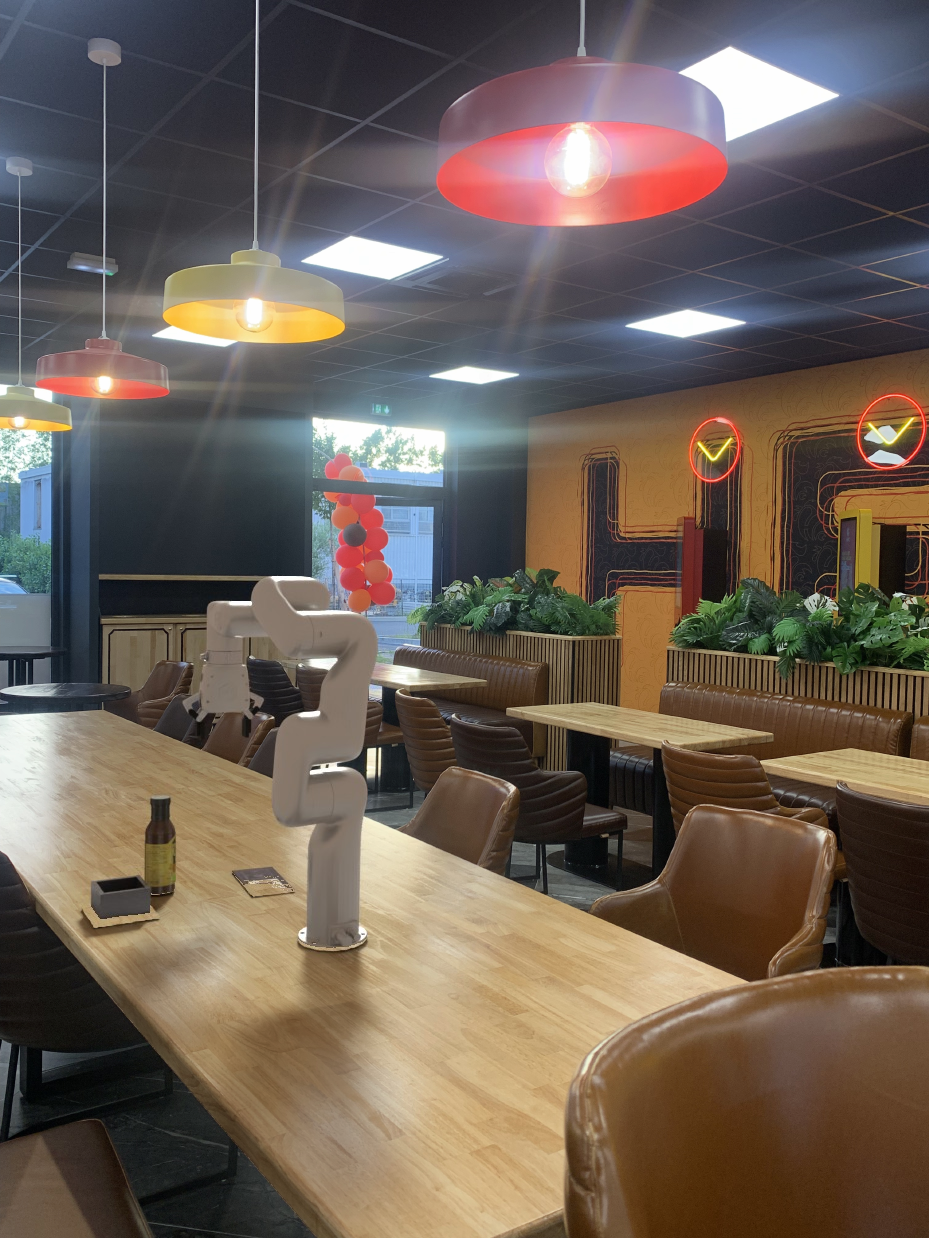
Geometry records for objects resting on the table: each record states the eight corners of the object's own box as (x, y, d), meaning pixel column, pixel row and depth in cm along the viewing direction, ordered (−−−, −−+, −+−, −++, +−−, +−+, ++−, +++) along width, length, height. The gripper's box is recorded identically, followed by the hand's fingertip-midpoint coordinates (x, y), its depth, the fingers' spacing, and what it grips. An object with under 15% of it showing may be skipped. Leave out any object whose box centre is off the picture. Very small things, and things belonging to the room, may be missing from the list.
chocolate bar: (272, 866, 225) (294, 890, 209) (271, 870, 225) (294, 894, 209) (232, 870, 221) (252, 894, 205) (231, 874, 221) (252, 899, 205)
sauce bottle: (179, 894, 206) (180, 798, 205) (149, 898, 202) (150, 801, 202) (170, 885, 211) (171, 792, 210) (140, 890, 208) (141, 795, 207)
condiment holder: (159, 918, 191) (159, 889, 191) (93, 928, 185) (93, 898, 185) (144, 900, 201) (145, 872, 201) (81, 909, 195) (82, 880, 195)
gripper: (187, 661, 207) (186, 743, 207) (269, 659, 215) (267, 738, 216) (179, 658, 213) (178, 737, 214) (258, 656, 221) (257, 733, 222)
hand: (223, 738), depth 215 cm, fingers open, 9 cm apart
